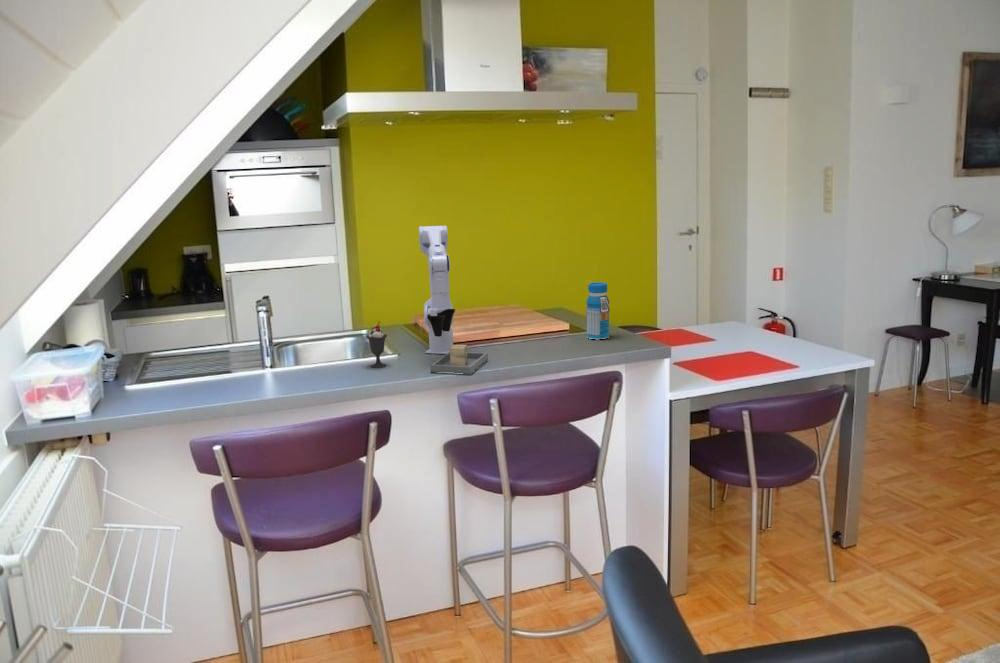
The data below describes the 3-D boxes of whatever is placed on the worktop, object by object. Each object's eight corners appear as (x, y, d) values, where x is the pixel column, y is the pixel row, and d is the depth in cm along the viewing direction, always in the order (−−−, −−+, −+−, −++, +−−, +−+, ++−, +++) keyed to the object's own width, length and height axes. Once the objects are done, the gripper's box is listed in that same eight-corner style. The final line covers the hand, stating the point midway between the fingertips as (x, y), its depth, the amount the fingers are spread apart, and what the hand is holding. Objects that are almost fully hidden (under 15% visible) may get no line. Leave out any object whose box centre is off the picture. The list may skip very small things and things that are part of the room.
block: (453, 362, 252) (453, 344, 251) (467, 363, 252) (466, 344, 250) (450, 366, 248) (449, 348, 247) (464, 366, 247) (463, 348, 246)
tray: (450, 358, 260) (450, 351, 260) (487, 360, 257) (487, 353, 256) (430, 373, 243) (430, 365, 243) (470, 375, 240) (470, 367, 239)
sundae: (385, 368, 250) (382, 322, 247) (365, 368, 251) (362, 322, 248) (391, 363, 256) (389, 318, 253) (372, 363, 257) (369, 318, 254)
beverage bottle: (585, 340, 280) (585, 285, 276) (586, 335, 288) (586, 281, 284) (609, 340, 279) (609, 285, 275) (609, 335, 287) (609, 281, 283)
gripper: (436, 288, 260) (438, 328, 263) (420, 295, 246) (422, 338, 249) (456, 288, 258) (458, 329, 261) (441, 296, 244) (443, 338, 247)
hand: (442, 333), depth 255 cm, fingers open, 7 cm apart
